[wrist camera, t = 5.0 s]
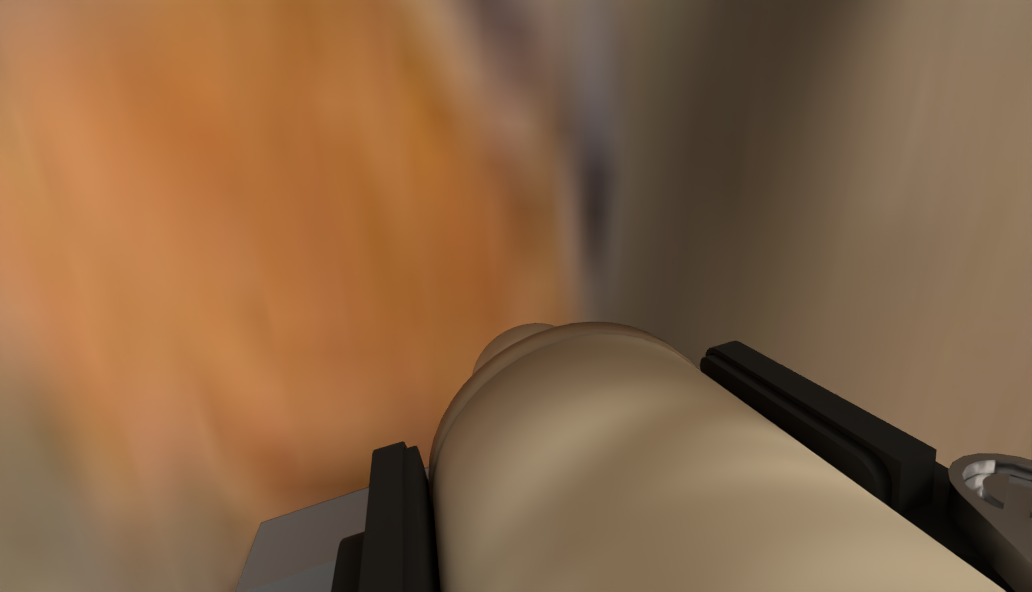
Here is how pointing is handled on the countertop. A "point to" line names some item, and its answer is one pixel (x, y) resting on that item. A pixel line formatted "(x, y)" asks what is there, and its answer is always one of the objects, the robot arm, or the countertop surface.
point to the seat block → (303, 546)
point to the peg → (649, 483)
